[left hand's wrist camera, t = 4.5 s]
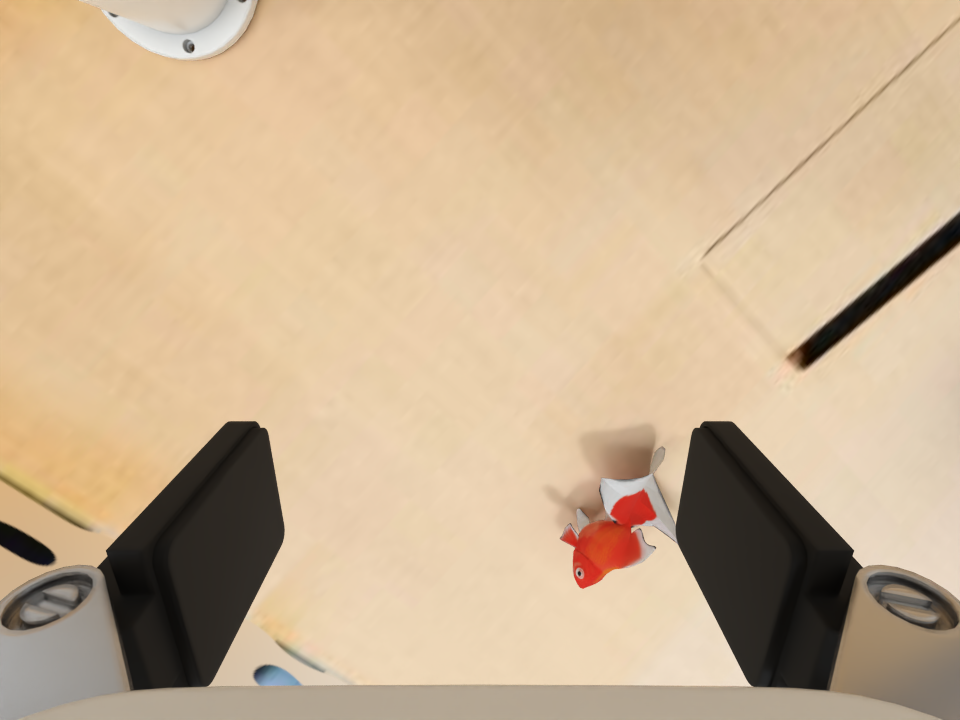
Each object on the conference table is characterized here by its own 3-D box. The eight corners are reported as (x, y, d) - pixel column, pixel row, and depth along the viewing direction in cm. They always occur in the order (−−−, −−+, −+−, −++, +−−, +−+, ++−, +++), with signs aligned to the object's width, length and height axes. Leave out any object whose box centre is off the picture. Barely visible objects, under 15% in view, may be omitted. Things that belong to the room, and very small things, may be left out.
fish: (510, 526, 51) (581, 593, 43) (608, 406, 53) (692, 447, 45) (560, 567, 57) (629, 632, 49) (645, 458, 59) (724, 502, 51)
